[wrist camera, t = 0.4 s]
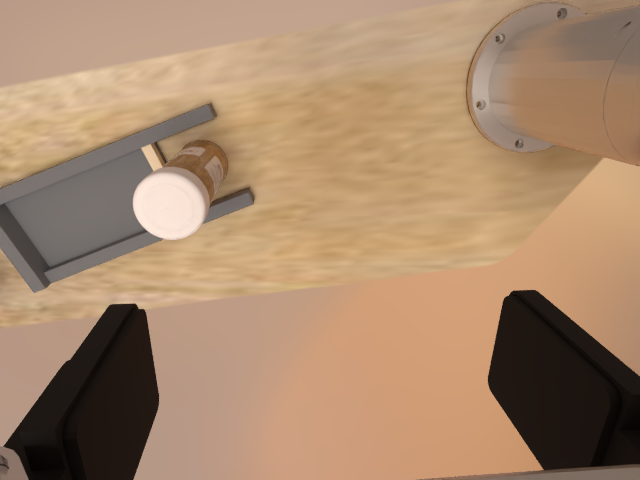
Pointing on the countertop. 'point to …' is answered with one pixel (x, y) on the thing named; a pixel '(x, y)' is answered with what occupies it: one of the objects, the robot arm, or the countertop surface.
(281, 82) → the countertop surface
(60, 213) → the tray
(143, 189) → the sprinkles bottle
